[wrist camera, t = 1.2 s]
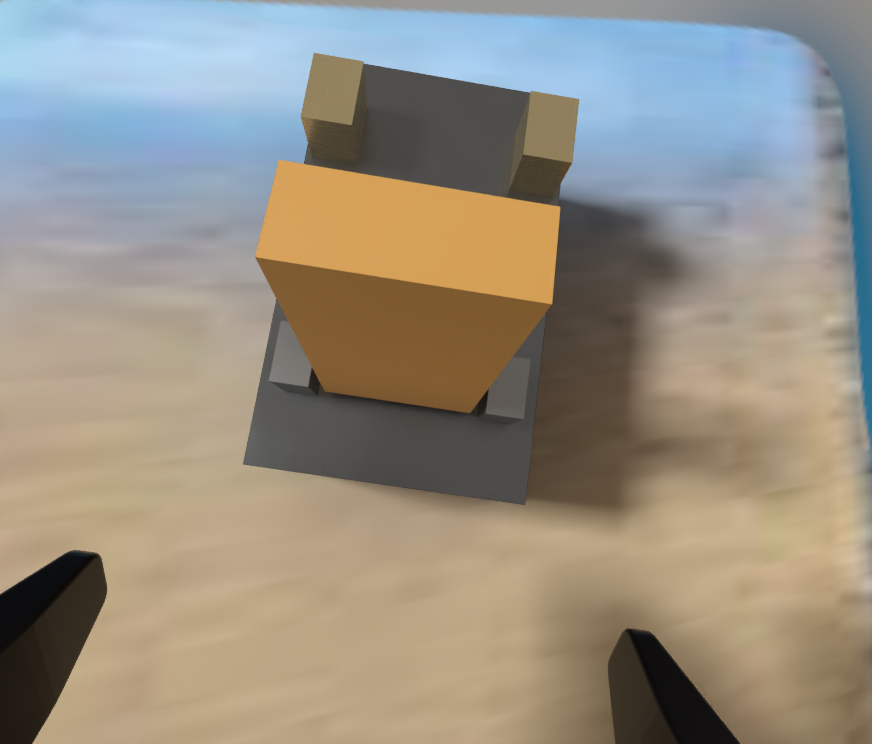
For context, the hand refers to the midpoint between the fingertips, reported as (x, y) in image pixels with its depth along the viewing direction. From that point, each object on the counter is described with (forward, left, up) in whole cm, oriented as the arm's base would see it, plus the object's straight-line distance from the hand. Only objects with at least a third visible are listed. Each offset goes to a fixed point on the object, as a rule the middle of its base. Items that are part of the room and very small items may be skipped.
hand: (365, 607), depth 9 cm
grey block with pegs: (+8, -3, -12) cm, 15 cm away
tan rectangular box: (+6, -2, -2) cm, 6 cm away
